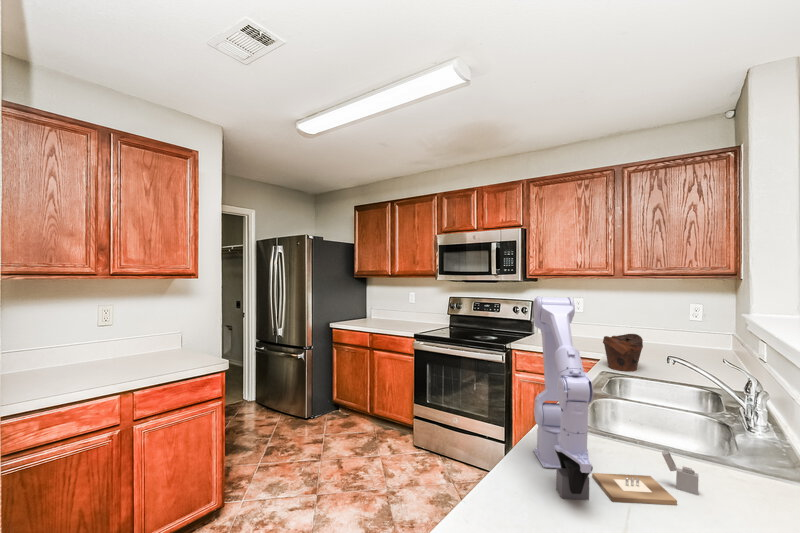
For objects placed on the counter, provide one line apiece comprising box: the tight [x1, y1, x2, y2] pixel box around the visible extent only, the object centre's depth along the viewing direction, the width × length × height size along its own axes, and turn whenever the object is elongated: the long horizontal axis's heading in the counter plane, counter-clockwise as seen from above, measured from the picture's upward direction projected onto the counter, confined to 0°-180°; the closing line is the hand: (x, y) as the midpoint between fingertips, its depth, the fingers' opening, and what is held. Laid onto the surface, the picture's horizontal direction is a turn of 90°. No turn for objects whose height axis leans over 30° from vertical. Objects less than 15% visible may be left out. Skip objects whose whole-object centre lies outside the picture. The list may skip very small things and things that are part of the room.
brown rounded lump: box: [602, 333, 644, 372], centre depth 201 cm, size 18×20×18 cm
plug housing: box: [555, 468, 590, 501], centre depth 89 cm, size 4×6×5 cm, turn 87°
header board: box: [591, 472, 678, 506], centre depth 91 cm, size 10×14×3 cm
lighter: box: [661, 450, 699, 496], centre depth 92 cm, size 7×2×8 cm, turn 53°
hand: (572, 487), depth 89 cm, fingers closed on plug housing, 4 cm apart
